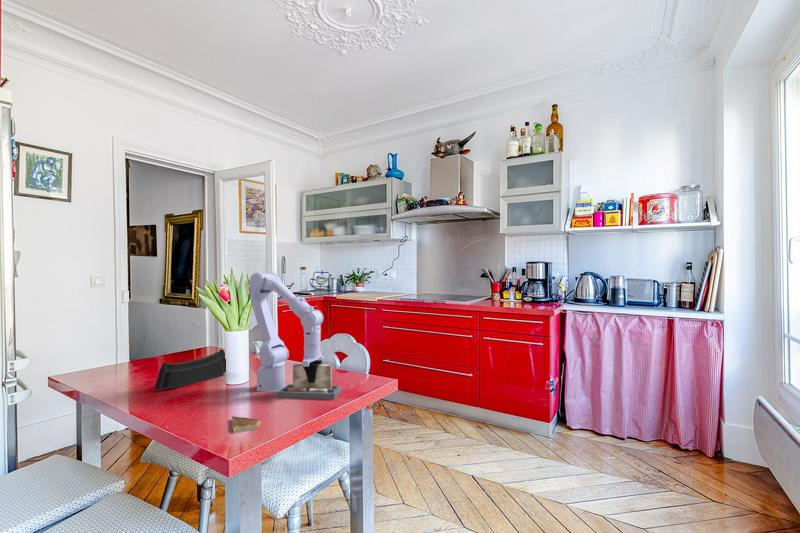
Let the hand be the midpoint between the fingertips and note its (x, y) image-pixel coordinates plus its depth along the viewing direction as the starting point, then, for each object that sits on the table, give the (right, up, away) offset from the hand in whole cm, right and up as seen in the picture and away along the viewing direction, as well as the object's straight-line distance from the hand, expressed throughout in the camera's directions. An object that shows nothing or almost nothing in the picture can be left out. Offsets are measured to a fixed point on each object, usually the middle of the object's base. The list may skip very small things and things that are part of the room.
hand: (312, 381), depth 138 cm
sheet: (0, -4, 0) cm, 4 cm away
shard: (-14, -5, -29) cm, 32 cm away
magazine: (-50, -5, +15) cm, 52 cm away
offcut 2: (+3, -4, -5) cm, 7 cm away
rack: (0, -4, -2) cm, 5 cm away
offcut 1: (-4, -4, -4) cm, 7 cm away
